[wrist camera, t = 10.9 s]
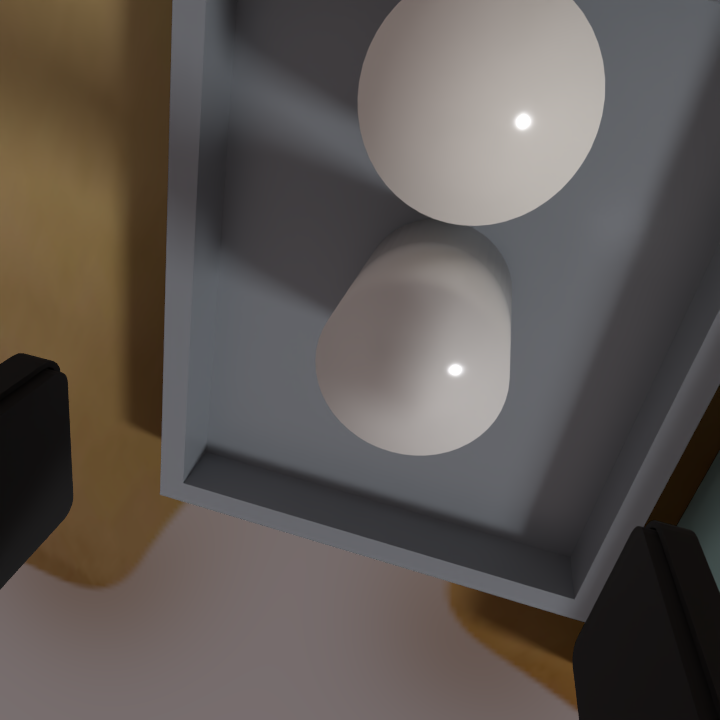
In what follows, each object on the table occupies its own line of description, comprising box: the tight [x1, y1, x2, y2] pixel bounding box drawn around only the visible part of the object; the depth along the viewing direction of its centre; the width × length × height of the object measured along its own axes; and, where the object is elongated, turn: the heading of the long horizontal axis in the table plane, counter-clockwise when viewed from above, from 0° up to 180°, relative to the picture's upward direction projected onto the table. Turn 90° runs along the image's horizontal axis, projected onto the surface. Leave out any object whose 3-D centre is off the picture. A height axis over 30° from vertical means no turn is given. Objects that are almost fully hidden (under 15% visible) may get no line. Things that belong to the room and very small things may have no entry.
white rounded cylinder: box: [315, 219, 512, 456], centre depth 16 cm, size 4×4×5 cm
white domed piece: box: [358, 0, 605, 226], centre depth 13 cm, size 4×4×5 cm
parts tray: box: [160, 0, 720, 622], centre depth 17 cm, size 18×15×2 cm
